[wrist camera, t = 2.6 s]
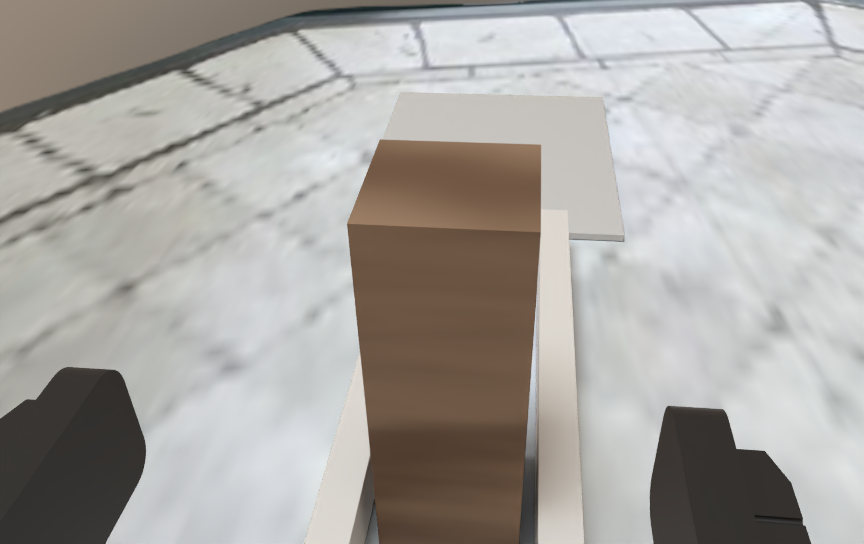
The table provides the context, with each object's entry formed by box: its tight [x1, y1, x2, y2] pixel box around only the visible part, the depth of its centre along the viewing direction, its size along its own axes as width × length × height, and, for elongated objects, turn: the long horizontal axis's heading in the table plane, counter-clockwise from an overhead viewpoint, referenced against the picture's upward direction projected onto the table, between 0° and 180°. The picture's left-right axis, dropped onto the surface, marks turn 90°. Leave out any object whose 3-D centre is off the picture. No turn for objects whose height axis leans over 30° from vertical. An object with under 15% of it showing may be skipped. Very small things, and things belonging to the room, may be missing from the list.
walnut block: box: [347, 140, 541, 544], centre depth 26 cm, size 5×5×14 cm
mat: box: [382, 92, 624, 241], centre depth 53 cm, size 20×16×1 cm
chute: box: [304, 209, 584, 544], centre depth 33 cm, size 26×9×2 cm, turn 173°
